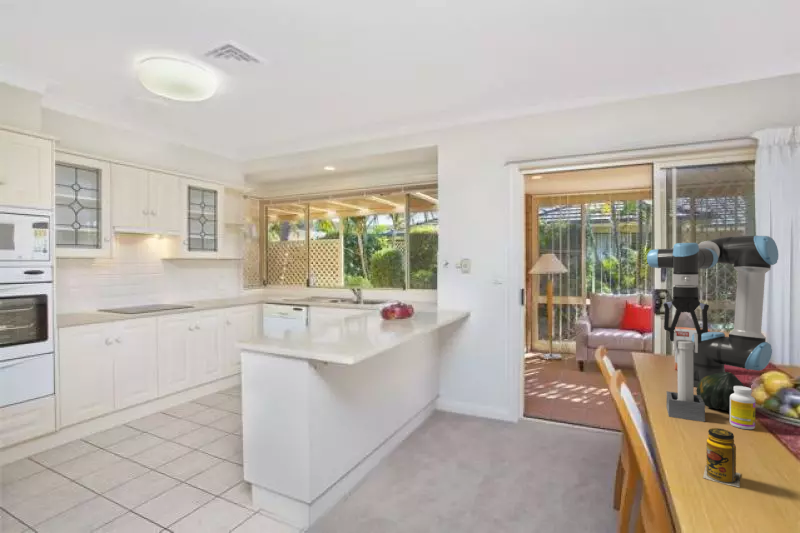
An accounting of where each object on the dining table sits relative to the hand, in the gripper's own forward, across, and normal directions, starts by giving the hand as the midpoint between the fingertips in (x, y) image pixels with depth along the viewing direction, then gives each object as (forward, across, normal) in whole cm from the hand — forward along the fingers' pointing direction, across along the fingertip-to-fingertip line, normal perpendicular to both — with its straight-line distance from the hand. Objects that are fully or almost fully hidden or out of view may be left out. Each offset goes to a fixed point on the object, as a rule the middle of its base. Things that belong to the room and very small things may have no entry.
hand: (685, 350), depth 150 cm
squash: (+23, +13, +13) cm, 29 cm away
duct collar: (+23, 0, 0) cm, 23 cm away
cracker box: (+23, +10, +68) cm, 72 cm away
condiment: (+23, +4, -46) cm, 52 cm away
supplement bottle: (+23, +16, -4) cm, 28 cm away
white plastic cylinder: (+21, 0, 0) cm, 21 cm away
